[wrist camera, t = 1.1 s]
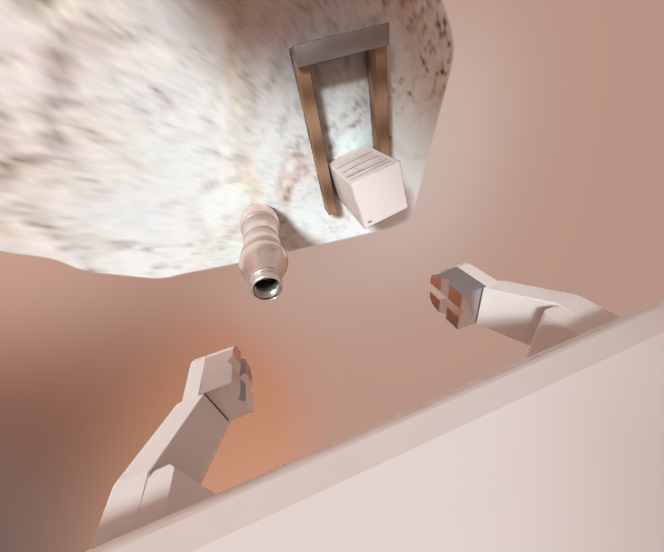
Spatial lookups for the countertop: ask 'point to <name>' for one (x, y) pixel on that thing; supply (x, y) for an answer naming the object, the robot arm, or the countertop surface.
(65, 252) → the countertop surface
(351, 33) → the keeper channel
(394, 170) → the supplement box
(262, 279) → the plastic bottle
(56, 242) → the countertop surface
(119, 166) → the countertop surface
